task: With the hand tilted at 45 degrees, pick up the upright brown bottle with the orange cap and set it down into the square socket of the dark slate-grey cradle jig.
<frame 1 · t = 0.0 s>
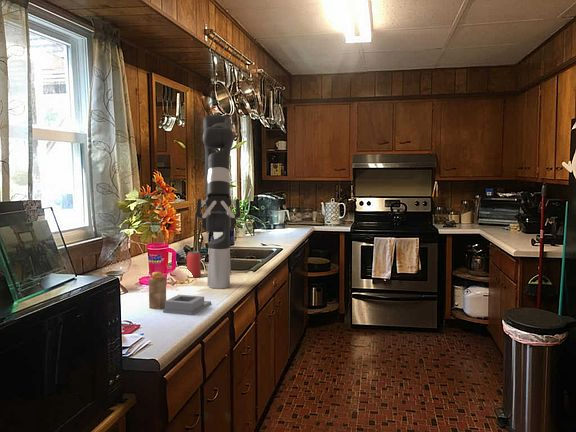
hand: (218, 230, 167), 31 cm above the counter, tool tilted 20°, fingers open, 8 cm apart
beer can: (193, 277, 247), on the counter
brown bottle: (157, 307, 191), on the counter
cradle: (185, 309, 188), on the counter
skyscraper: (221, 275, 253), on the counter
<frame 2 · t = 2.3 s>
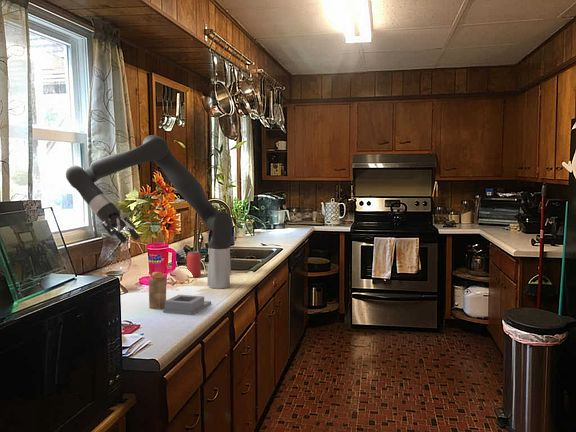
hand: (131, 240, 192), 25 cm above the counter, tool tilted 45°, fingers open, 8 cm apart
nothing on the counter moved.
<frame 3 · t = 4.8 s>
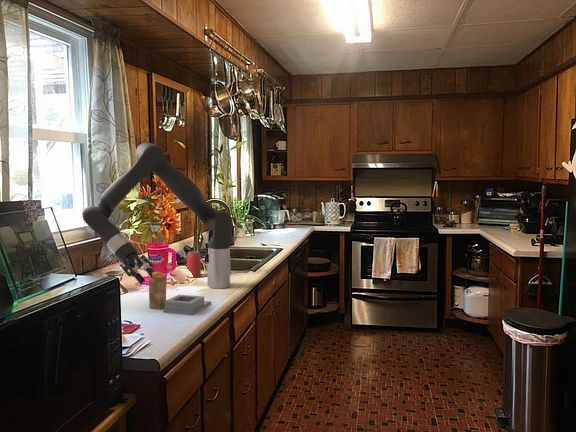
hand: (149, 280, 191), 10 cm above the counter, tool tilted 45°, fingers open, 8 cm apart
nothing on the counter moved.
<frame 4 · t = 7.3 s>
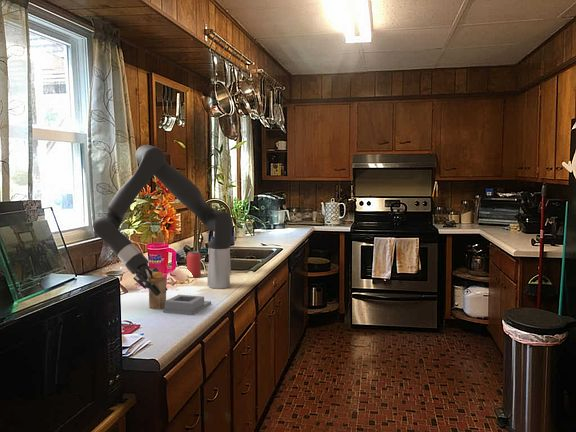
hand: (162, 292, 190), 6 cm above the counter, tool tilted 45°, fingers closed on brown bottle, 4 cm apart
brown bottle: (157, 307, 191), on the counter, touching gripper
everything else where it was.
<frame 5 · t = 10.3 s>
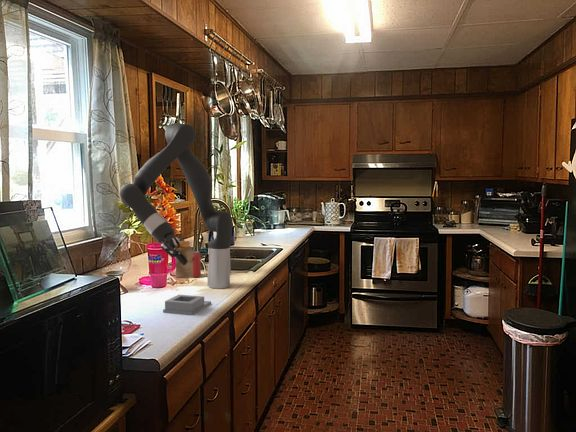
hand: (189, 262, 186), 18 cm above the counter, tool tilted 45°, fingers closed on brown bottle, 4 cm apart
brown bottle: (184, 277, 187), point 12 cm above the counter, touching gripper
everything else where it was.
when the fingers open (8 cm above the counter, at t = 13.3 s): brown bottle drops 1 cm, resting on cradle.
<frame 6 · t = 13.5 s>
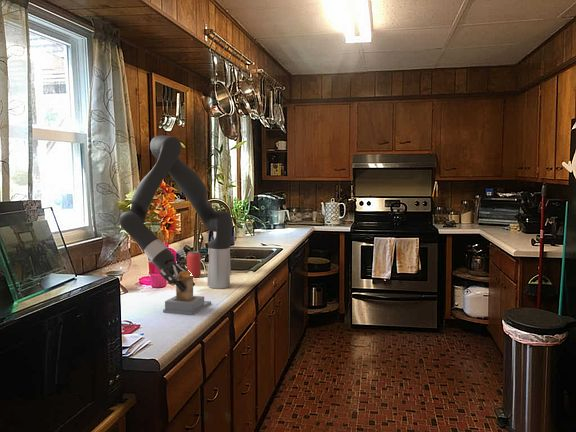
hand: (189, 288, 187), 8 cm above the counter, tool tilted 45°, fingers open, 6 cm apart
brown bottle: (184, 306, 188), point 1 cm above the counter, touching cradle
everything else where it was.
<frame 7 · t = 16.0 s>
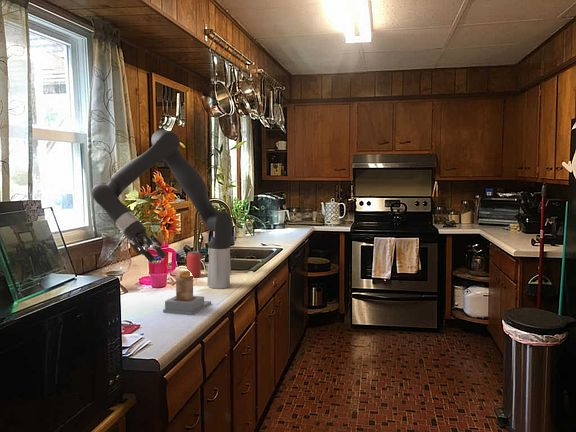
hand: (158, 258, 189), 18 cm above the counter, tool tilted 45°, fingers open, 8 cm apart
nothing on the counter moved.
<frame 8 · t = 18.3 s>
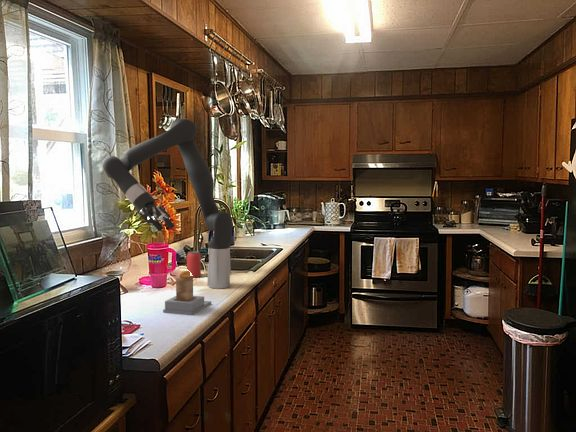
hand: (167, 228, 196), 29 cm above the counter, tool tilted 45°, fingers open, 8 cm apart
nothing on the counter moved.
at the end: brown bottle 0.1 cm off-centre on the cradle, point 1.0 cm above the cradle's base; brown bottle tilted 0°; the gripper is holding nothing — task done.
